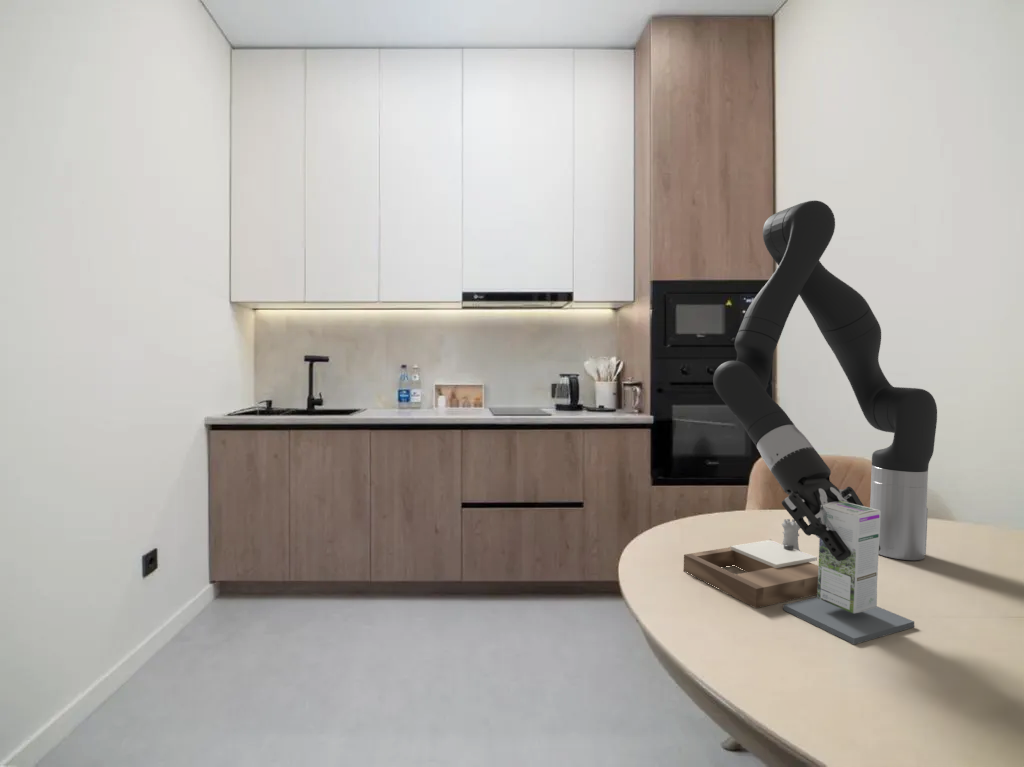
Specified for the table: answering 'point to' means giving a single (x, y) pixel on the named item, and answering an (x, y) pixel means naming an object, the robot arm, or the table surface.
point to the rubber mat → (849, 620)
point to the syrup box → (851, 558)
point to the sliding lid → (773, 553)
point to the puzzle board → (753, 577)
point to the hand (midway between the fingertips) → (860, 555)
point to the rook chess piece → (791, 533)
